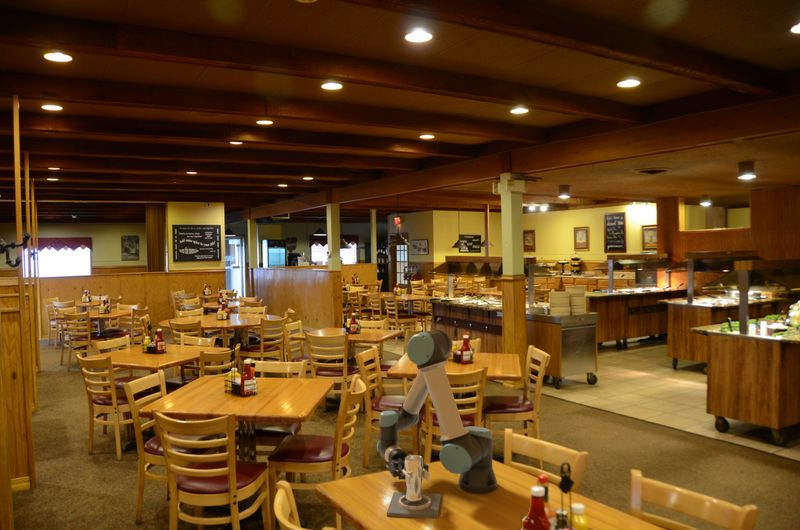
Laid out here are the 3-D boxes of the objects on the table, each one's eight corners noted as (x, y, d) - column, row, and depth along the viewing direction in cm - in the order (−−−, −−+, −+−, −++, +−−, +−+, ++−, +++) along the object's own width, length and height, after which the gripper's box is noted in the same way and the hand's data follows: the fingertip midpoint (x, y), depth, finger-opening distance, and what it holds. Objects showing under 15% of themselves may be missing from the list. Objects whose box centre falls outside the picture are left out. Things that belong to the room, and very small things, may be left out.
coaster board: (440, 497, 223) (440, 491, 223) (437, 518, 205) (437, 512, 205) (393, 495, 225) (393, 489, 225) (386, 516, 207) (386, 509, 207)
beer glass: (421, 503, 211) (421, 461, 211) (402, 501, 213) (402, 460, 212) (424, 495, 218) (424, 455, 218) (406, 493, 219) (406, 454, 219)
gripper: (419, 463, 235) (444, 485, 214) (373, 470, 229) (393, 493, 207) (419, 445, 235) (443, 465, 214) (373, 451, 228) (393, 472, 207)
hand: (419, 479), depth 210 cm, fingers closed on beer glass, 7 cm apart
